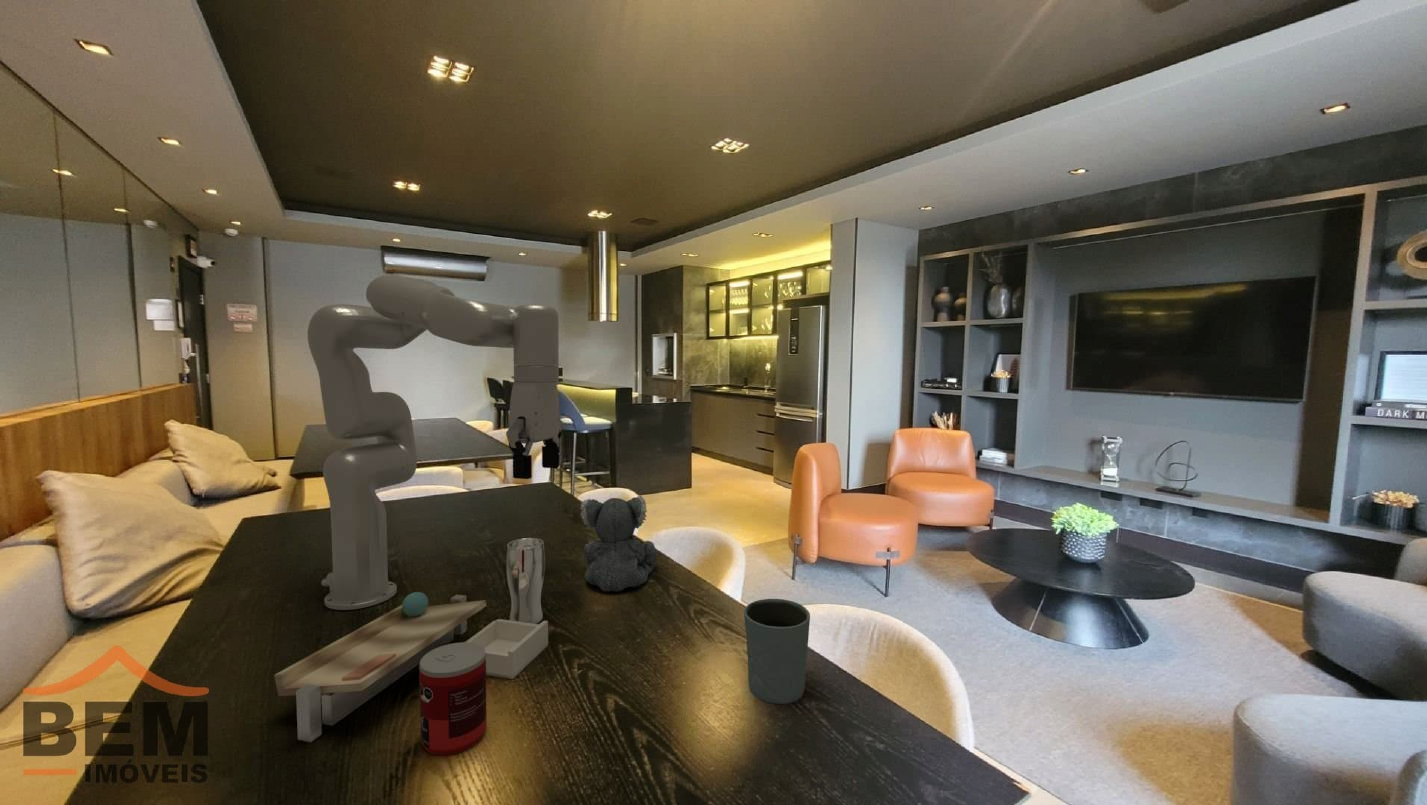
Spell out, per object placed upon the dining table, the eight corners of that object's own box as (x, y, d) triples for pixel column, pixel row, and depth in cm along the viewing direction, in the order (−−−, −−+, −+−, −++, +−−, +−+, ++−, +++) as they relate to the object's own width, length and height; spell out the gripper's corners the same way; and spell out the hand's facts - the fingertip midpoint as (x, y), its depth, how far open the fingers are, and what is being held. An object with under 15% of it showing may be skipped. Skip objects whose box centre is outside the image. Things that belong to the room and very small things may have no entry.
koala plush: (657, 565, 135) (658, 487, 133) (651, 596, 117) (652, 506, 116) (587, 564, 134) (587, 486, 133) (570, 595, 116) (569, 505, 115)
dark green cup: (791, 715, 78) (794, 634, 77) (730, 692, 83) (731, 615, 82) (817, 681, 86) (820, 607, 85) (760, 661, 92) (762, 592, 91)
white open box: (453, 669, 88) (453, 643, 87) (494, 637, 98) (494, 613, 98) (513, 679, 85) (512, 652, 85) (548, 645, 96) (547, 621, 95)
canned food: (435, 718, 76) (433, 642, 75) (494, 716, 76) (493, 640, 76) (409, 758, 68) (407, 673, 67) (475, 755, 69) (474, 671, 68)
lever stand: (457, 629, 101) (456, 594, 100) (466, 630, 100) (466, 595, 100) (297, 739, 71) (296, 690, 71) (310, 742, 71) (308, 693, 70)
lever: (421, 614, 100) (418, 595, 100) (487, 607, 97) (484, 588, 97) (277, 700, 74) (272, 675, 74) (361, 695, 71) (355, 669, 71)
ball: (398, 620, 94) (395, 597, 93) (415, 610, 98) (412, 588, 97) (417, 620, 93) (414, 597, 93) (434, 610, 97) (431, 588, 96)
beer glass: (533, 630, 101) (532, 550, 100) (499, 625, 103) (498, 547, 101) (551, 613, 108) (551, 539, 107) (519, 609, 109) (519, 536, 108)
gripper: (541, 375, 105) (542, 463, 106) (487, 377, 88) (489, 481, 90) (578, 376, 104) (578, 465, 105) (530, 378, 87) (531, 484, 88)
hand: (537, 472), depth 97 cm, fingers open, 9 cm apart
